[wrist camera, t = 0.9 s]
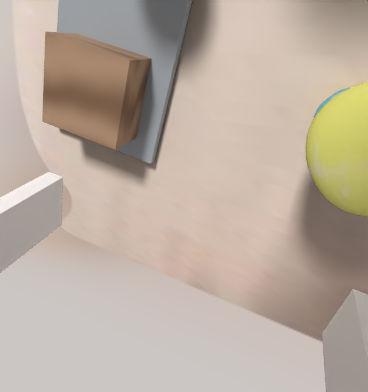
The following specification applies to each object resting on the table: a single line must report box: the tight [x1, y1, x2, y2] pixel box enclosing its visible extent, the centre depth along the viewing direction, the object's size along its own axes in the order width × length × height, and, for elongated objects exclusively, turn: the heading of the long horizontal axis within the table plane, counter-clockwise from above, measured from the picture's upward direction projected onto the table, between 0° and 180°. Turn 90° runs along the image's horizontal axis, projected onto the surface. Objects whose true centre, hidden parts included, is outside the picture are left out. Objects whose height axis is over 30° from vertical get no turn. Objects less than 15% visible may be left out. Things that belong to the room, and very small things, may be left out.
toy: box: [306, 82, 368, 216], centre depth 24 cm, size 8×9×15 cm
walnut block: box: [42, 32, 151, 150], centre depth 34 cm, size 9×9×5 cm
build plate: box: [57, 0, 192, 164], centre depth 35 cm, size 18×14×1 cm
